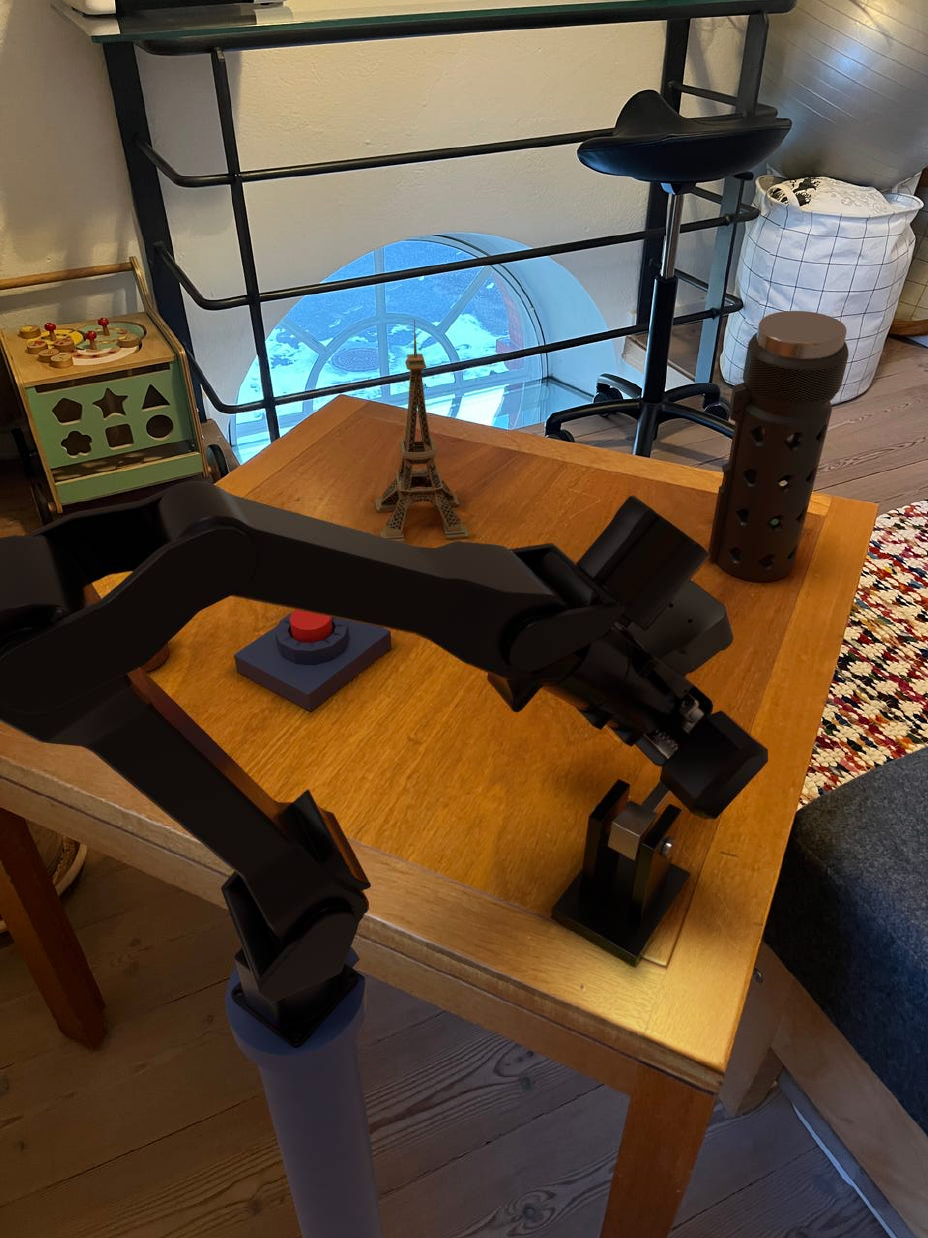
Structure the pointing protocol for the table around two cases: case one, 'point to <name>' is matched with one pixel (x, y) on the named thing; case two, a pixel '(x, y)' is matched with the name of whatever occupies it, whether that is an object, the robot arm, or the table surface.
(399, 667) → the table surface
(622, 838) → the lever
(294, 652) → the control box
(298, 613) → the button
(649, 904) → the bracket
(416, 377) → the eiffel tower
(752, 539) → the water bottle
